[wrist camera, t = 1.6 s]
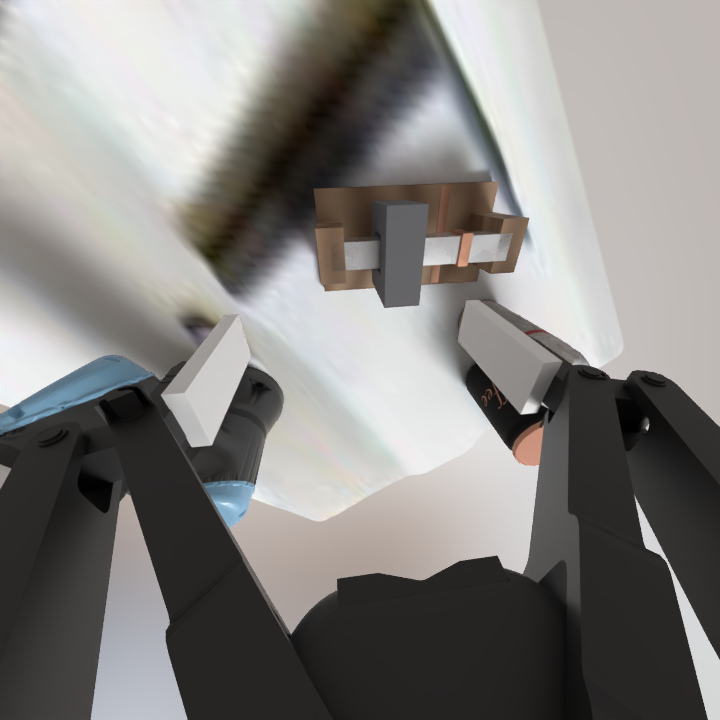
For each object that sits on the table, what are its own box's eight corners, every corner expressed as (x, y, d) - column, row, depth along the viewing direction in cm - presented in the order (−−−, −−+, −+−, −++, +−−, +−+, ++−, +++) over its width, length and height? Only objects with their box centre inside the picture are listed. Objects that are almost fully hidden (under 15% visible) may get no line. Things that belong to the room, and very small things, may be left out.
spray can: (467, 293, 44) (553, 358, 27) (510, 299, 45) (616, 363, 29) (450, 337, 48) (515, 416, 32) (490, 341, 50) (572, 418, 33)
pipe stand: (324, 288, 41) (324, 312, 33) (314, 188, 33) (310, 189, 25) (472, 278, 42) (505, 299, 34) (492, 181, 35) (540, 180, 27)
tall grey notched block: (371, 281, 38) (384, 307, 30) (371, 201, 32) (386, 205, 24) (398, 279, 38) (418, 305, 30) (402, 199, 32) (429, 204, 24)
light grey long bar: (332, 266, 33) (333, 274, 30) (329, 235, 31) (330, 240, 28) (490, 257, 34) (506, 263, 31) (497, 226, 32) (515, 230, 29)
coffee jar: (508, 343, 50) (584, 408, 36) (518, 378, 56) (587, 448, 41) (456, 369, 53) (508, 440, 38) (471, 400, 58) (521, 474, 43)
